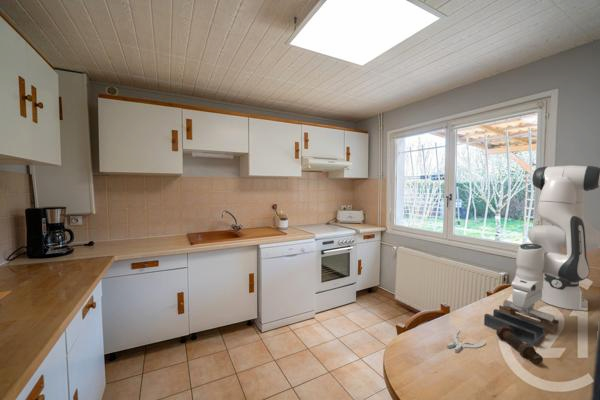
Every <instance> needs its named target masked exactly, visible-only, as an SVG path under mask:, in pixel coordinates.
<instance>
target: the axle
mask: <svg viewBox="0 0 600 400" xmlns="http://www.w3.org/2000/svg"><path fill="white" fill-rule="evenodd" d="M502 306H503V307H506V308H509V309H511V310H513V311H516V313H518V314H519V313H520V314H522V309H521V308H518V307H515V306H514V305H513V301H510V300H507V299H504V301H503V303H502ZM528 311H529V313H528V315H526V317H529V318H532V319H535V320H538V321H540V320H544V321H547V322H550V323H554V320H556V318H555V315H553V314H551V313H547V312H545V311H544V312H543V311H541V310H538V309H535V308H533V309H532V308H529V307H528Z"/></svg>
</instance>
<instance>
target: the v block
mask: <svg viewBox="0 0 600 400" xmlns="http://www.w3.org/2000/svg"><path fill="white" fill-rule="evenodd" d="M483 315H484V321H483V322H484V323H483V325H484V326H485V327H488V328H491V329H492V330H495V331H497V329H498V328H499V327H500V326H508V327H510V328H511V330H512V332H513V334H514V336H516V337H517V338H518V339H520V340H521V341H522V342H524V343H528V344H530V345H532V346H533V347H535V346H536V345H537V344H538V343H540V342H541V341H542V340H543V339H545V331H544V330H545V327H544V326H542V325H539V324H536V323H533V322H531V321H528V320H525V319H522V318H519V317H517V316H514V315H511V314H508V313H506V312H503V311H500V310H499V309H497V308H494V309H493V314H489V313H485V314H483Z"/></svg>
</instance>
